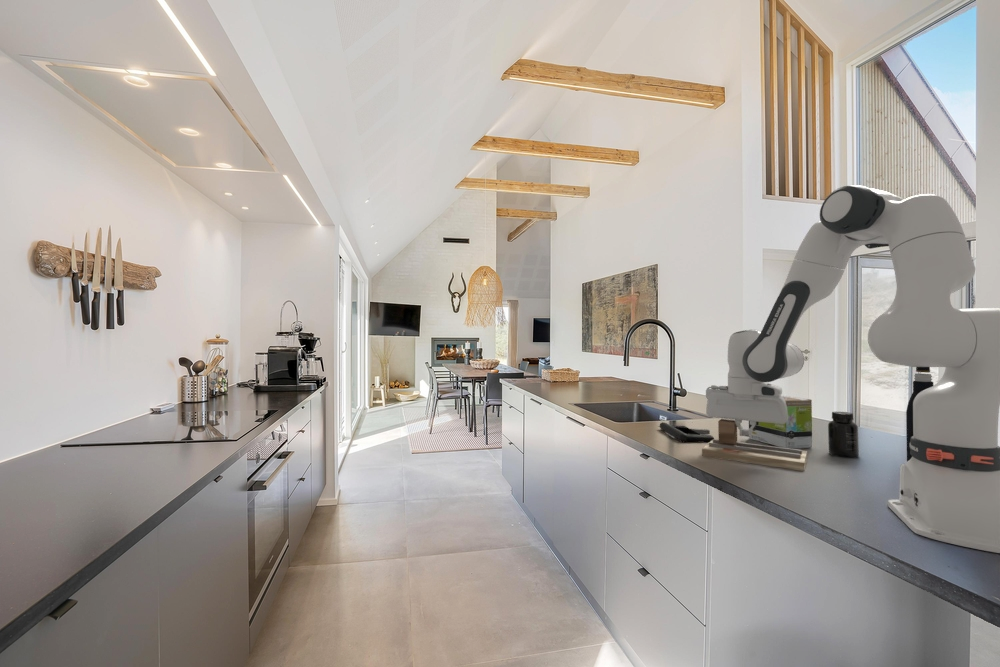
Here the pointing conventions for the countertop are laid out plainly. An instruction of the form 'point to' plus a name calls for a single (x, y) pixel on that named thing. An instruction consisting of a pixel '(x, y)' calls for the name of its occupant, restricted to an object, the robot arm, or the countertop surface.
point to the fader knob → (727, 432)
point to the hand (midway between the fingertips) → (745, 436)
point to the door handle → (686, 433)
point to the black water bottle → (918, 385)
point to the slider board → (757, 454)
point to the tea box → (788, 426)
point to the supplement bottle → (843, 435)
